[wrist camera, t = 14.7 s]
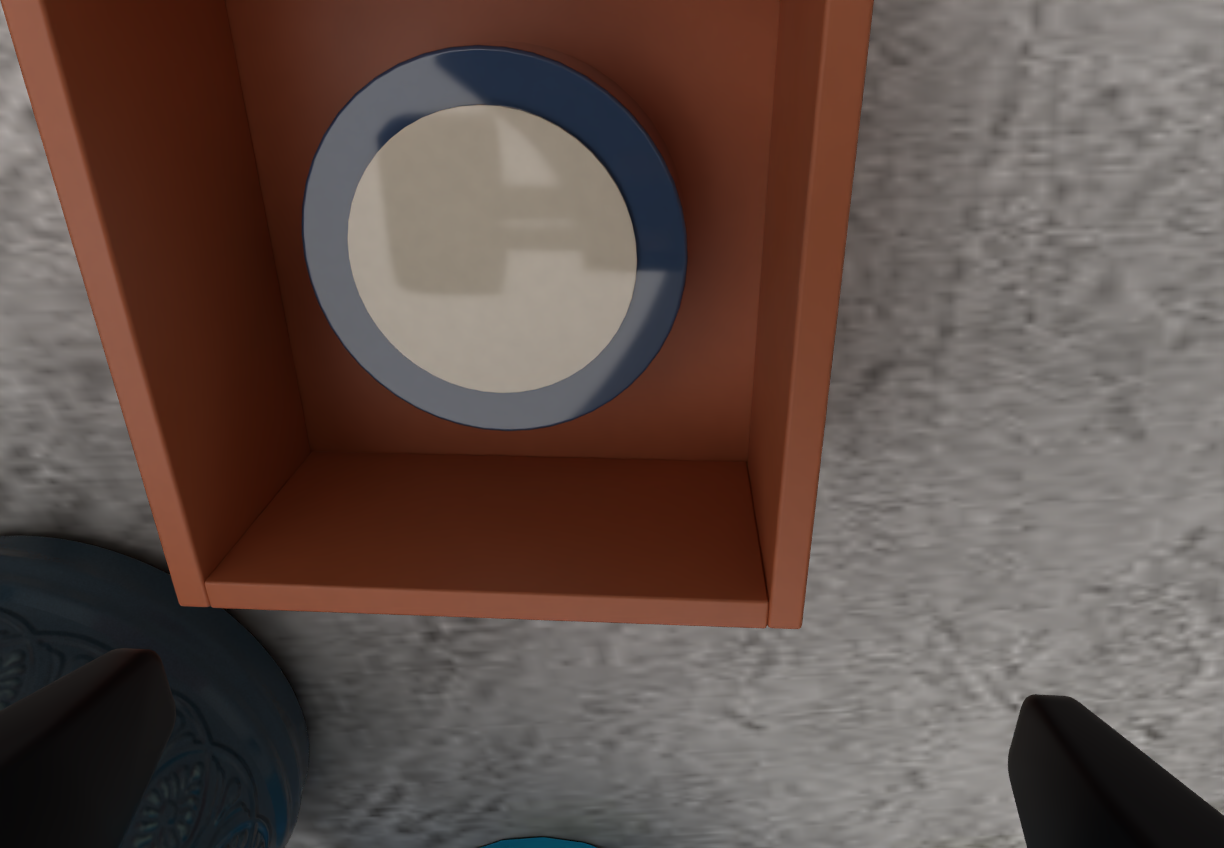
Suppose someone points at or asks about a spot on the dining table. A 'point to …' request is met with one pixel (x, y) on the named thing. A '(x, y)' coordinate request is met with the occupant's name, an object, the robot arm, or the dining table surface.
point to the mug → (538, 843)
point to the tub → (390, 427)
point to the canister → (198, 678)
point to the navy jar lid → (496, 235)
